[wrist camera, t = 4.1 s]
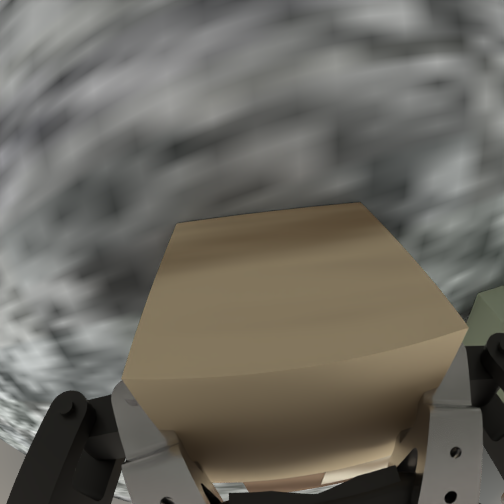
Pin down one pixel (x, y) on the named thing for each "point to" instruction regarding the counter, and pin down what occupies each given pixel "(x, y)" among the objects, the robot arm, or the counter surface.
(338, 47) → the counter surface
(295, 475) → the maple block
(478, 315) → the sage block
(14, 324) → the counter surface
